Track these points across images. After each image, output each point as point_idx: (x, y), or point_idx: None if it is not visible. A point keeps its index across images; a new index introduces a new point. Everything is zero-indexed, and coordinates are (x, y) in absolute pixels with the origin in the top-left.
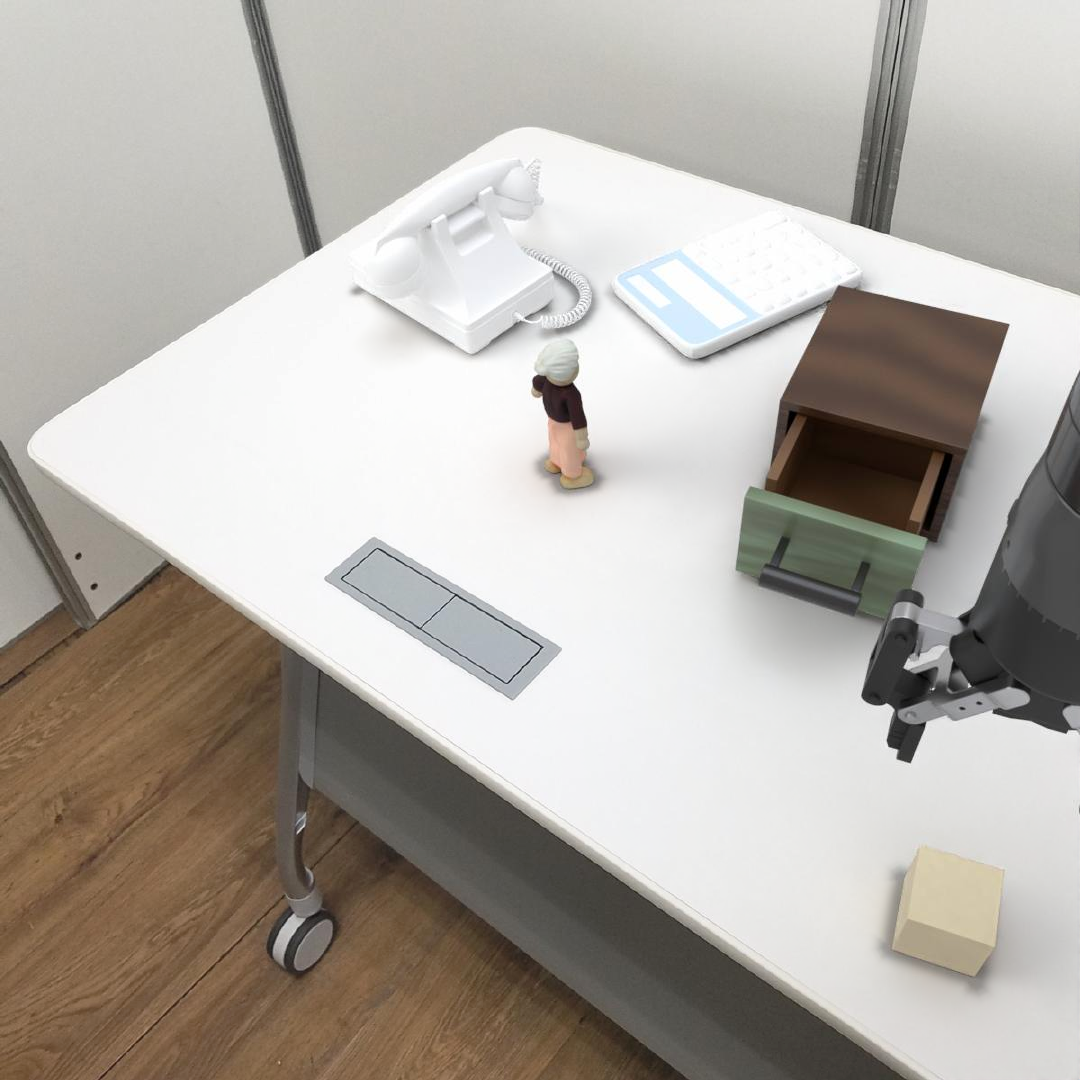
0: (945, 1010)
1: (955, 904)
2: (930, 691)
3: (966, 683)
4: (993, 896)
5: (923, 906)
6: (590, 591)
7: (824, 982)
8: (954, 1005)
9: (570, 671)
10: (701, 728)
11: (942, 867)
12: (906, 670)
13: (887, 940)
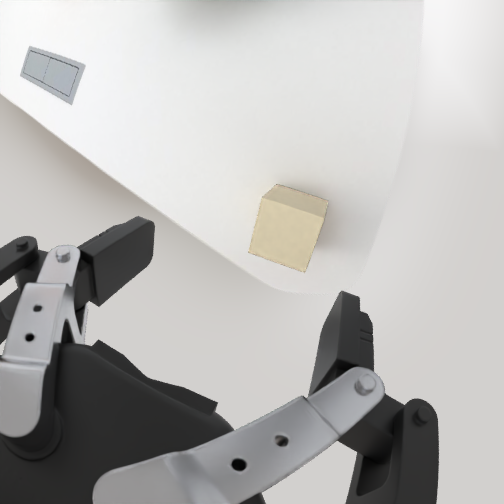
0: None
1: (282, 243)
2: (92, 257)
3: (68, 337)
4: (311, 239)
5: (259, 244)
6: (96, 23)
7: (225, 248)
8: None
9: (89, 77)
10: (150, 90)
11: (276, 216)
12: (35, 274)
13: None
